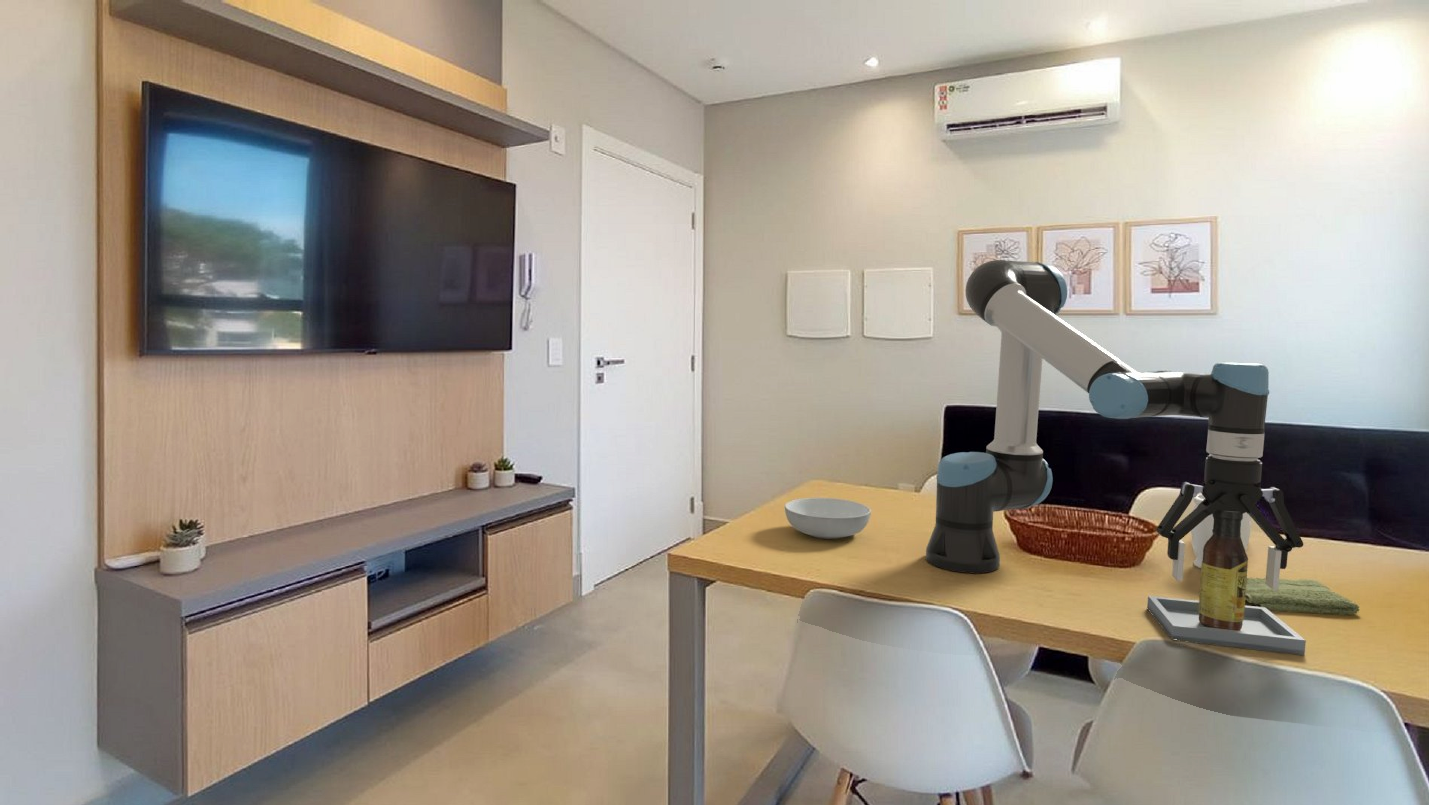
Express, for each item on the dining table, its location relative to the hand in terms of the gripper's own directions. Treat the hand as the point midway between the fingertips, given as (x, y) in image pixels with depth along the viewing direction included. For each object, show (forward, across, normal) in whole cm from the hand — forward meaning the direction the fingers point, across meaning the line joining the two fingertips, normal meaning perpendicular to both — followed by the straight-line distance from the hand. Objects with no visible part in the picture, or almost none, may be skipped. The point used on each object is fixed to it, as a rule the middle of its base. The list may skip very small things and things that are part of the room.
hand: (1223, 582), depth 119 cm
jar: (+8, +12, +38) cm, 40 cm away
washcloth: (+9, +18, +20) cm, 28 cm away
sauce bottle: (+8, 0, 0) cm, 8 cm away
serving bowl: (+8, -71, +38) cm, 81 cm away
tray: (+8, 0, 0) cm, 8 cm away
